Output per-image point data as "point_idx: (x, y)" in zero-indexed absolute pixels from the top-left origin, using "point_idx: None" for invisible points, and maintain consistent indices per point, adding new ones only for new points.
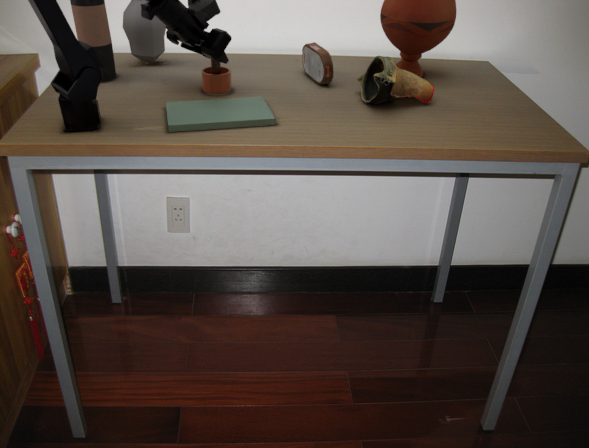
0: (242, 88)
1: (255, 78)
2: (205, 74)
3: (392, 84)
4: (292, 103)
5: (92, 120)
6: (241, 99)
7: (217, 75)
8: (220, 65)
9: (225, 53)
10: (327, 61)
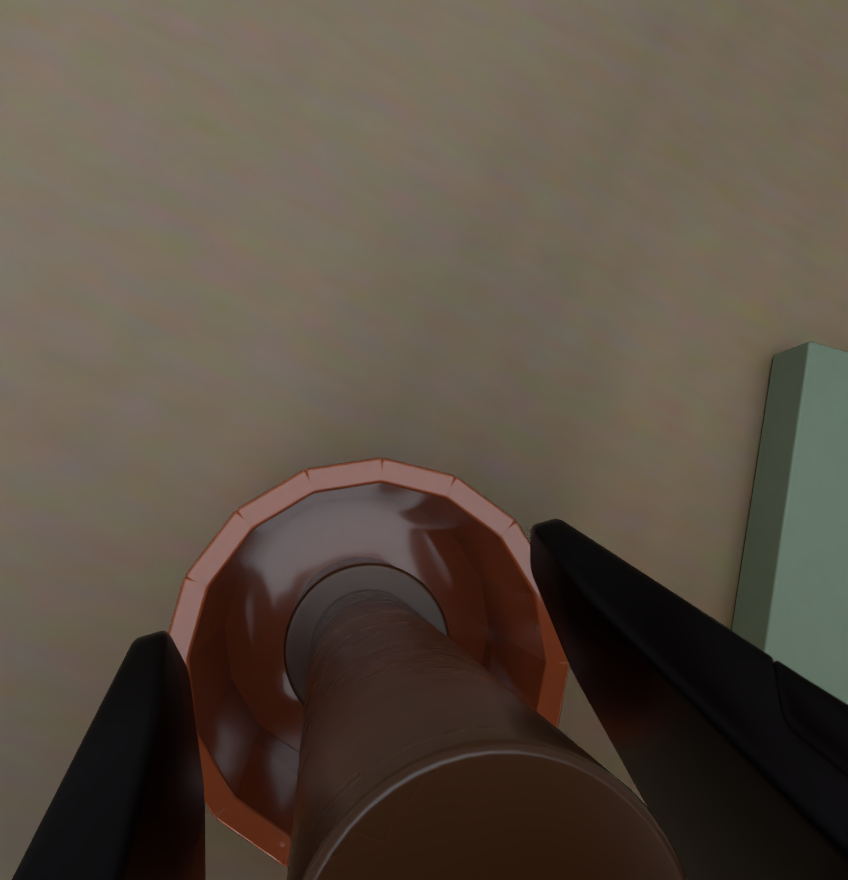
0: (381, 365)
1: (156, 125)
2: None
3: None
4: (845, 154)
5: None
6: (821, 550)
7: (559, 706)
8: (413, 610)
9: (700, 611)
10: None
